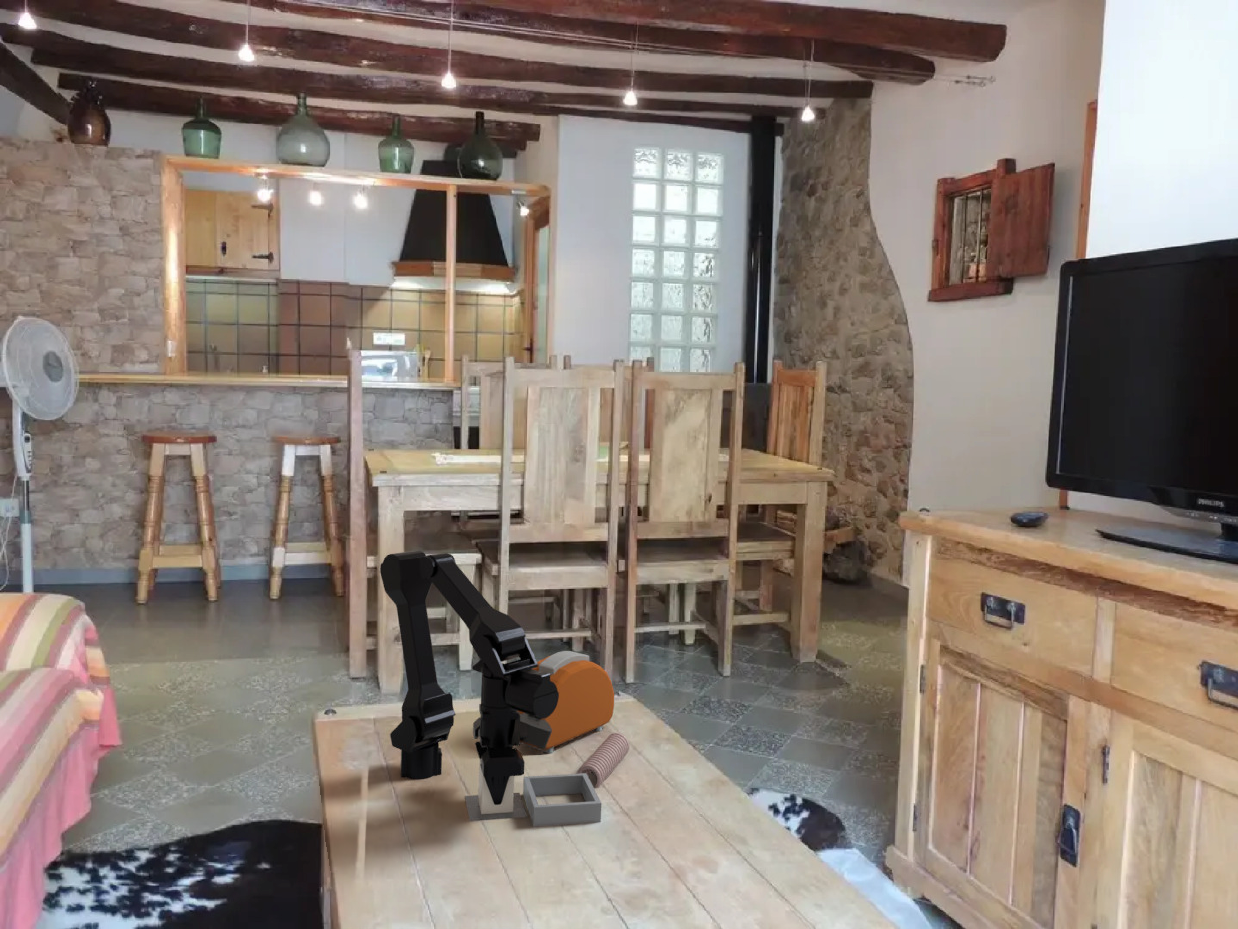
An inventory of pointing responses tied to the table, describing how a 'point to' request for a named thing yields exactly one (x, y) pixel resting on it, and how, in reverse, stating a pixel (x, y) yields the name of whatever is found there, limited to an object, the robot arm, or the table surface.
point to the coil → (606, 757)
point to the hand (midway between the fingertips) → (495, 797)
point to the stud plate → (476, 814)
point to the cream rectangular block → (486, 799)
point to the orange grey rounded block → (576, 697)
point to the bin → (563, 811)
